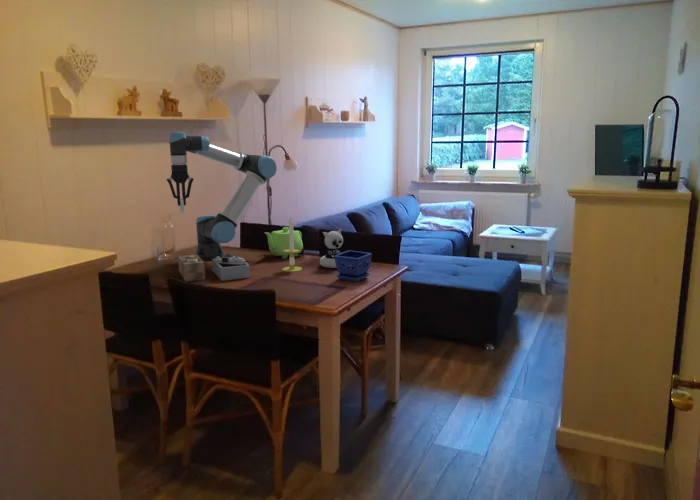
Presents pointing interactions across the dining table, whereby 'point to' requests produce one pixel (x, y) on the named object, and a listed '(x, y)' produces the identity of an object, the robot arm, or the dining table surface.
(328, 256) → the decorative figurine
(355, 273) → the flower pot
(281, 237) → the teapot
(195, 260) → the cream rounded upright piece
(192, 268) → the beige slotted holder
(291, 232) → the candle
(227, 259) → the camera
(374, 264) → the dining table surface
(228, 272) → the caddy
